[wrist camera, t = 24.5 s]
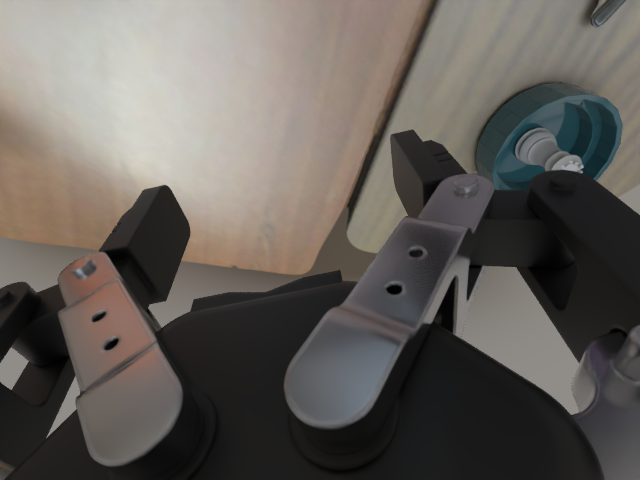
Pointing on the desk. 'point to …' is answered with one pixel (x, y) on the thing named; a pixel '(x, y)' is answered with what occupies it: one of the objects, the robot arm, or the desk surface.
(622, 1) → the salad plate
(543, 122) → the bowl
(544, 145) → the rook chess piece
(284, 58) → the desk surface
